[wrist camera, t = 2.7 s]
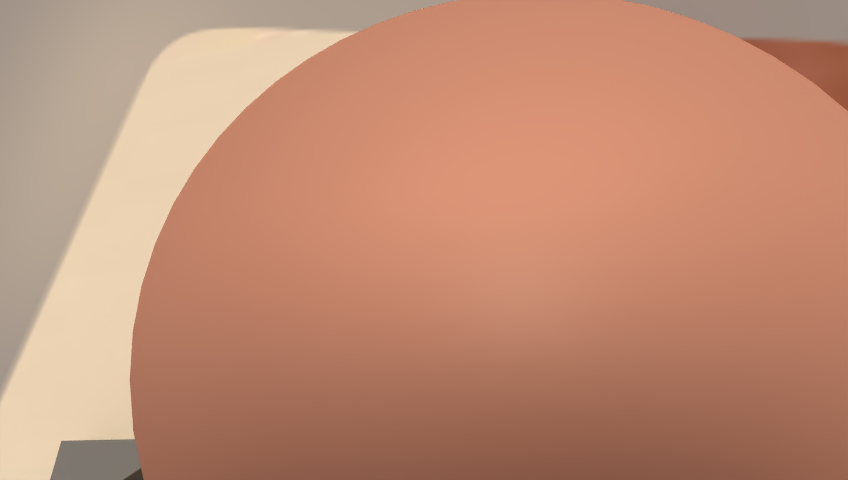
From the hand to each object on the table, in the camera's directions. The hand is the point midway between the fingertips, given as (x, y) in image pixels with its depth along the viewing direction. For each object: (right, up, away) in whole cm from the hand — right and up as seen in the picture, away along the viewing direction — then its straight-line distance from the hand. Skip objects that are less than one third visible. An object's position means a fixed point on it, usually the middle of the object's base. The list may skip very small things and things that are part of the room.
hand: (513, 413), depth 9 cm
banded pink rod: (+1, -4, +7) cm, 8 cm away
